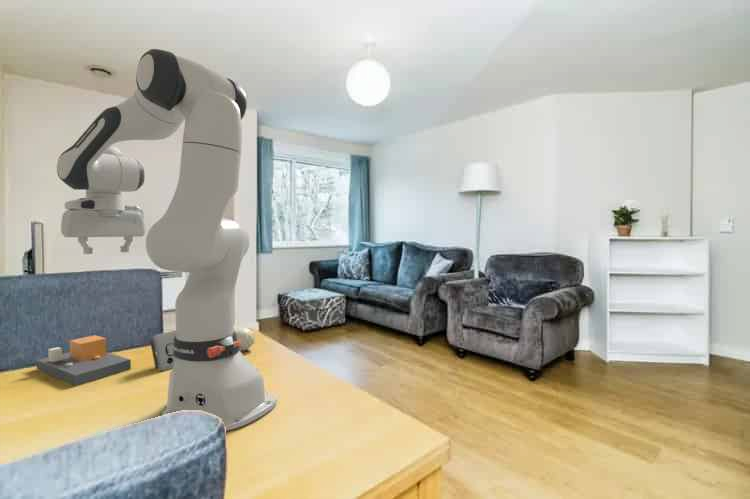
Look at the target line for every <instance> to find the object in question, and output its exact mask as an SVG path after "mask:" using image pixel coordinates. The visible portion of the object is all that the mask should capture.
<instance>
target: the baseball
mask: <svg viewBox="0 0 750 499" xmlns="http://www.w3.org/2000/svg"><path fill="white" fill-rule="evenodd" d="M233 331H235V333H236V336H237V339H238V340H241V339H243V341H241V342H239V344H241V343H243V344H242V345H239V346H240V350H239V351H240V352H242V351H244V352H245V351H247V350H249V349H250V348H251V347H252V346H253V345H254V344H255V342H256V337H255V334H254V333H253V331H252V330H250V329H249V328H247V327H240V328H236V329H235V330H234V329H233Z"/></svg>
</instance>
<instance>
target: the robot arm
mask: <svg viewBox="0 0 750 499" xmlns="http://www.w3.org/2000/svg"><path fill="white" fill-rule="evenodd" d="M135 74H136V76H135V78H136V79H135V80H136V87H137V88H136V89H135V91H134V92H133V94H132V95H131V96H130V97H128V98H127V99H126V100H124V101H123V102H121V103H120V104H117V105H115V106H111V107H107V108H105V109H104V110H103V111H102V112H100V114H99V115H98V116H97V117H96V118H95V119H94V120H93V121H92V122H91V124H90V125H89V126H88V127H87V129H86V130H85V131H84V132H83V133H82V134H81V136H79V138H78V139H77V140H76V141H75V142H74V143H73V145H71V146H70V147H69V148H67V149H66V150H64V151H63V152H62V153H61V155H60V156H59V157H58V159H57V162H56V163H57V165H56V171H57V172H56V173H57V175H58V178H59V179H60V180H61V181H62V182H63V183H64V184H65V185H66V186H68V187H69V188H71V189H72V190H85V197H82V198H78V199H73V200H67V201H65V202H64V208H65V211H64V212H63V214H62V216H61V223H60V232H61V234H62V235H63V237H65V238H77V241H78V243H79V244H80V246H81V247H82V248H83V249H82V250H83V254H84V255H92V254H93V250H94V249H93V247H90V246H89V245H88V243H87V242H88V241H89V238H106V237H107V238H110V237H111V238H117V237H119V238H120V237H121V238H123V240H124V241H125V242H124V244H123V245H120V248H119V249H120V250H119V251H120V253H129V252H130V246H131V245H132V242H133V241H134V240H133V239H134V237H137V238H138V237H144V236H145V234H146V224H145V220H144V219H145V218H144V217H145V214H144V210H143V209H142V208H141V207H139V206H137V205H125V193H127V192H128V193H130V192H136V191H139V189H140V188H141V187H142V186H143V185H144V184H145V169H144V166H142V164H141V162H140V161H138V160H137V159H136V158H133V157H131V156H127V155H125V154H123V153H122V151H121V149H119V148H118V147H115V146H113V145H114V144H116V143H120V142H126V141H159V140H164V139H167V138H169V137H172V135H173V134H174V133H176V132H177V130H179V128H180V127H181V126H182V124H183V122H184V127H183V128H184V129H183V135H182V144H181V155H180V164H179V172H178V173H179V175H178V180H177V185H176V188H175V191H174V194H173V197H172V199H171V201H170V203H169V205H168V207H167V209H166V211H165V212H164V214H163V215H162V217H161V218H159V219H158V221H156V222H155V223H154V224H152V226H151V227H150V228H149V230H148V232H147V234H146V238H145V250H146V253H147V256H148V258H149V259H150V260H151V262H152V263H153V264H154V265H155V266H156V267H158V268H160V269H162V270H165V271H170V272H177V273H188V276H187V279H186V282H185V284H184V286H183V288H182V290H181V291H180V292H179V293H178V295H177V297H176V300H175V305H174V306H175V310H174V311H175V330H176V336H175V337H174V343H173V349H174V356H175V357H176V359H175V363H174V366H173V368H171V371H170V372H169V377H168V378H169V379H168V391H167V403H166V407H165V409H164V410H163V411H162V414H161V416H162V415H164V414H168V413H172V412H176V411H181V410H202V411H205V412H208V413H211V414H214V415H216V416H218V417H220V418H221V419H222V421H223V422H224V425H225V427H226V431H225V432H227V431H232V430H234V429H238V428H241V427H244V426H246V425H249V423H252V422H254V421H256V420H257V419H259V418H261V417H262V416H264V415H266V414H267V413H268V412H270V411H271V410H273V409H274V407H275V406H276V405H277V403H278V402H277V397H276V396H274V395H272V394H271V393H269V392H266V390H265V383H264V378H263V375H262V373H261V372H260V371H259V368H258V367H257V366H254V365H253V364H252V363H251V362H250V361H249V360H248V358H246V356H244V354H243V353H242V351H239V350H240V346H239V345H242V344H243V343H241V344H239V342H241V341H243V339H241V340H238V339H237V336H236V333H235V331H234V298H235V291H236V285H237V281H238V277H239V276H238V275H239V273H240V269H241V263H242V261H243V259H244V257H245V255H246V254H247V252H248V250H249V247H250V236H249V233H248V232H247V229H246V228H244V226H243V225H241V224H240V223H238V222H236V221H235V220H231V219H229V218H227V217H224V214H225V212H226V209H227V208H228V204H229V203H230V201H231V199H232V198H233V197H234V196H235V195H236V193H237V192H238V189H239V181H240V180H239V178H240V168H241V158H242V157H241V156H242V145H243V134H242V133H243V132H242V131H243V130H242V119H243V118H244V116H245V115H246V111H247V107H248V106H247V105H248V104H247V103H248V102H247V96H246V93H245V91H244V89H243V88H242V87H241V86H240V85H239V84H238V83H236V82H235V81H233V80H232V79H231V78H226V77H225V76H223V75H221V74H219V73H218V72H215V71H214V70H211V69H209V68H207V67H205V66H204V65H203V64H201V63H198V62H196V61H193V60H191V59H188V58H185V57H182V56H178V55H176V54H174V53H173V52H171V51H169V50H164V49H158V48H151V49H149V50H148V51H146V52H145V53H143V54H142V56H141V57H140V60H139V61H138V64H137V68H136V73H135ZM124 192H125V193H124Z"/></svg>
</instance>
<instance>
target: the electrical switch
mask: <svg viewBox="0 0 750 499" xmlns="http://www.w3.org/2000/svg"><path fill="white" fill-rule="evenodd" d="M175 336H176V329H174V330H170V331H166V332H163V333H159V334H154V335H153V337H152V338H150V340H149V341H150V342H149V343H150V346H151V347H150V348H151V353H152V358H153V364H154V367H155V369H158V370H159V372H160V371H161V372H163V371H166V370H170V369H172V368H173V366H174V363H175V359H176V357H175V356H174V349H173V343H174V337H175Z"/></svg>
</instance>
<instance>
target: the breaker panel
mask: <svg viewBox="0 0 750 499" xmlns="http://www.w3.org/2000/svg"><path fill="white" fill-rule="evenodd" d="M131 361H132V360H131V358H126V357H124V356H120V355H117V354H114V353H111V352H108V351H107V355H105V356H101V357H100V356H94V357H93V359H89V360H86V361H82V362H81V361H78V360H75V359H73V358H70V351H68V352H66V353H65V352H64V353H62V360H60V361H56V362H50V361H49V358H48V357H43V358H39V359H36V370H37V369H39V370H40V371H39V370H38V371H39V372H41V371H42V373H45V374H47V375H49V376H51V377H54V378H57V379H58V380H60V381H63V382H65V383H68V384H71V385H72V386H75V387H77V386H80V385H85V384H86V383H87V384H88V383H89V382H93V381H96V380H99V379H100V380H101V379H103V378H107V377H110V376H113V375H117V374H120V373H123V372H126V371H130V370H131V369H132V365H131V363H132V362H131Z"/></svg>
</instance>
